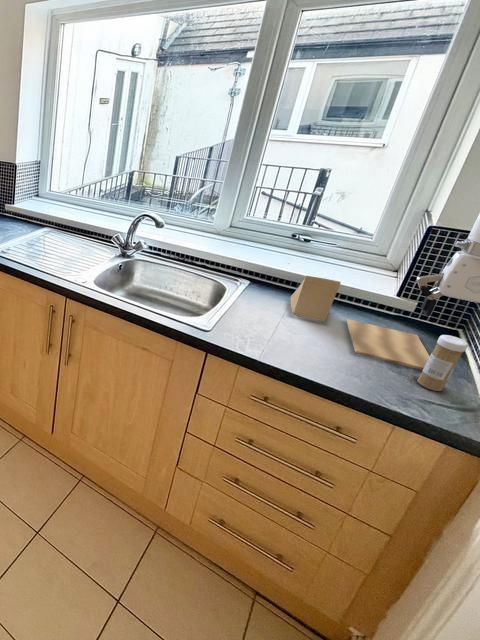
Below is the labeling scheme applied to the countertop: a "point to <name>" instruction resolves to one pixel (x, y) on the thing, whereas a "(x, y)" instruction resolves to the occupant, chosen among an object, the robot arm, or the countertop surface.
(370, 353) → the chopping board
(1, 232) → the countertop surface
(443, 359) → the sprinkles bottle
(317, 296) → the sandwich container
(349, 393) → the countertop surface
